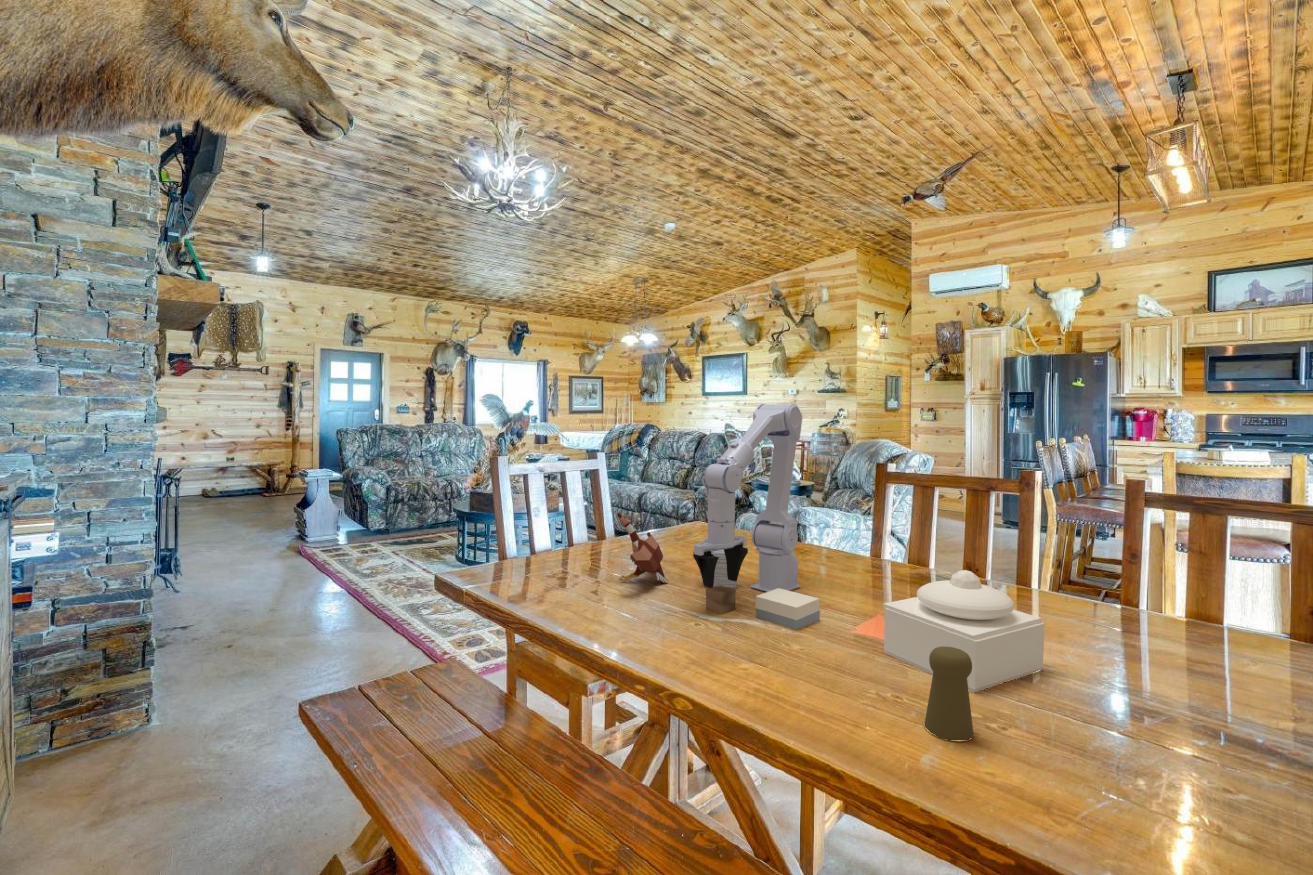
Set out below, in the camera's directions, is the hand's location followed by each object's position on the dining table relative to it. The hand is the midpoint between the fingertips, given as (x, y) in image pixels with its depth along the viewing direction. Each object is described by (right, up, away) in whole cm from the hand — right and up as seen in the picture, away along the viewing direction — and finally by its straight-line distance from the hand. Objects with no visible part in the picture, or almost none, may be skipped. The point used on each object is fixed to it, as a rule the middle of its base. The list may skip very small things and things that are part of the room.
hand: (720, 583), depth 132 cm
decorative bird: (-17, -5, +21) cm, 28 cm away
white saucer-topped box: (+38, -8, -26) cm, 47 cm away
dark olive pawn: (+26, -8, -49) cm, 56 cm away
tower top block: (+13, -4, -5) cm, 15 cm away
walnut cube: (0, -6, 0) cm, 6 cm away
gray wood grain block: (+2, -5, +18) cm, 19 cm away
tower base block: (+13, -7, -5) cm, 16 cm away
